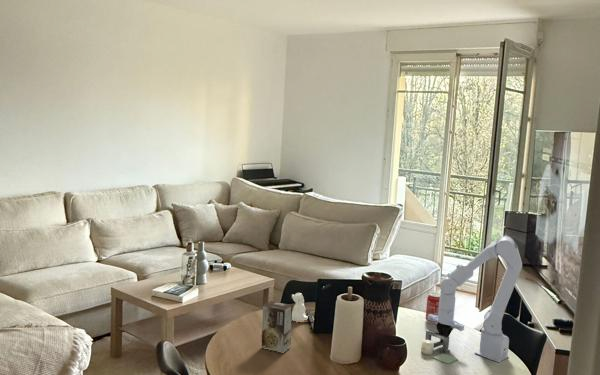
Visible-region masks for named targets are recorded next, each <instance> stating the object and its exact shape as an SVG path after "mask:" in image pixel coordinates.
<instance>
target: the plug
mask: <svg viewBox="0 0 600 375" xmlns="http://www.w3.org/2000/svg"><path fill="white" fill-rule="evenodd" d="M421 341H422V342H421V348H420V349H421V350H420V352H421V353H422V354H423V355H429V356H430V355H433V354H434V348H438V347H440V346H443V341H440V340H439V341H436V342H434V341H433V340H431V341H430V340H425V339H422V340H421Z"/></svg>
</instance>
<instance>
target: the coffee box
mask: <svg viewBox="0 0 600 375" xmlns="http://www.w3.org/2000/svg"><path fill="white" fill-rule="evenodd" d="M292 311H293V304H288V303H282V302H278V301H274V300H270V301H269V302H267V303H266V304H264V305H262V325H261V347H263V348H268V349H271V350H275V351H279V352H285V351H286V350H287V349H288V348H290V349H291V347H292V346H291V344H292V343H291V342H292V324H293V321H292ZM290 346H291V347H290ZM287 351H288V350H287ZM287 351H286V352H287ZM286 352H285V353H286Z"/></svg>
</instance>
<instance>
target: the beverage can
mask: <svg viewBox="0 0 600 375" xmlns="http://www.w3.org/2000/svg"><path fill="white" fill-rule="evenodd" d="M440 295H441V294H440V293H439V292H438V293H436V292H430V293H429V294H428V296H427V298H426V299H427V300H426V311H425V320H426V321H427V323H429V324H432V325H437V324H438V322H435V321H432V320H427V319H428V315H429V314H433V315H437V316H438V312H439V300H440Z"/></svg>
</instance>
